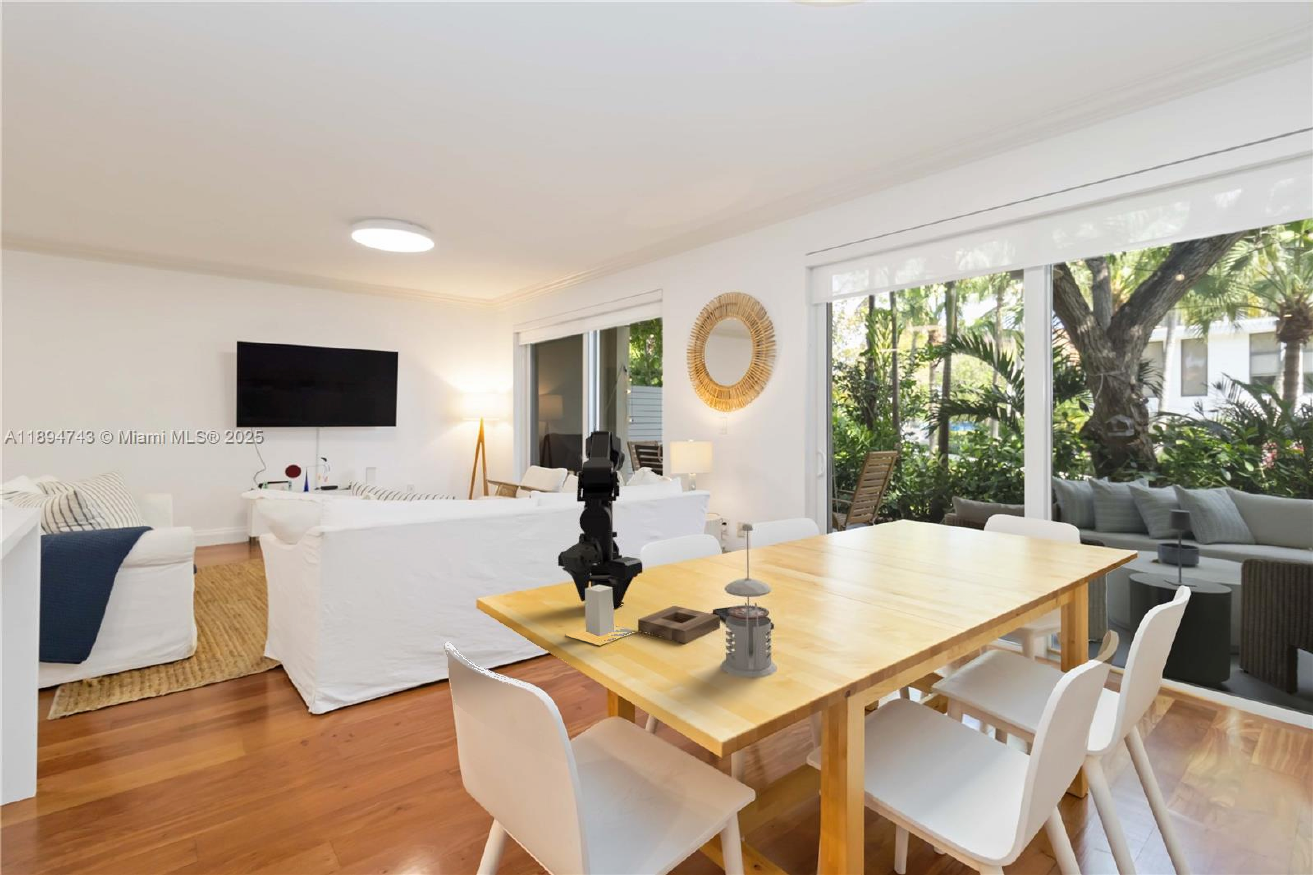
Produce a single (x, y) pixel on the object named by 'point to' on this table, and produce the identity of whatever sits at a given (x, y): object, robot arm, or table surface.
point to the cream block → (599, 610)
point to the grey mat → (621, 634)
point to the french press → (748, 629)
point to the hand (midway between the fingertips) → (599, 604)
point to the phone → (727, 614)
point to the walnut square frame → (679, 624)
